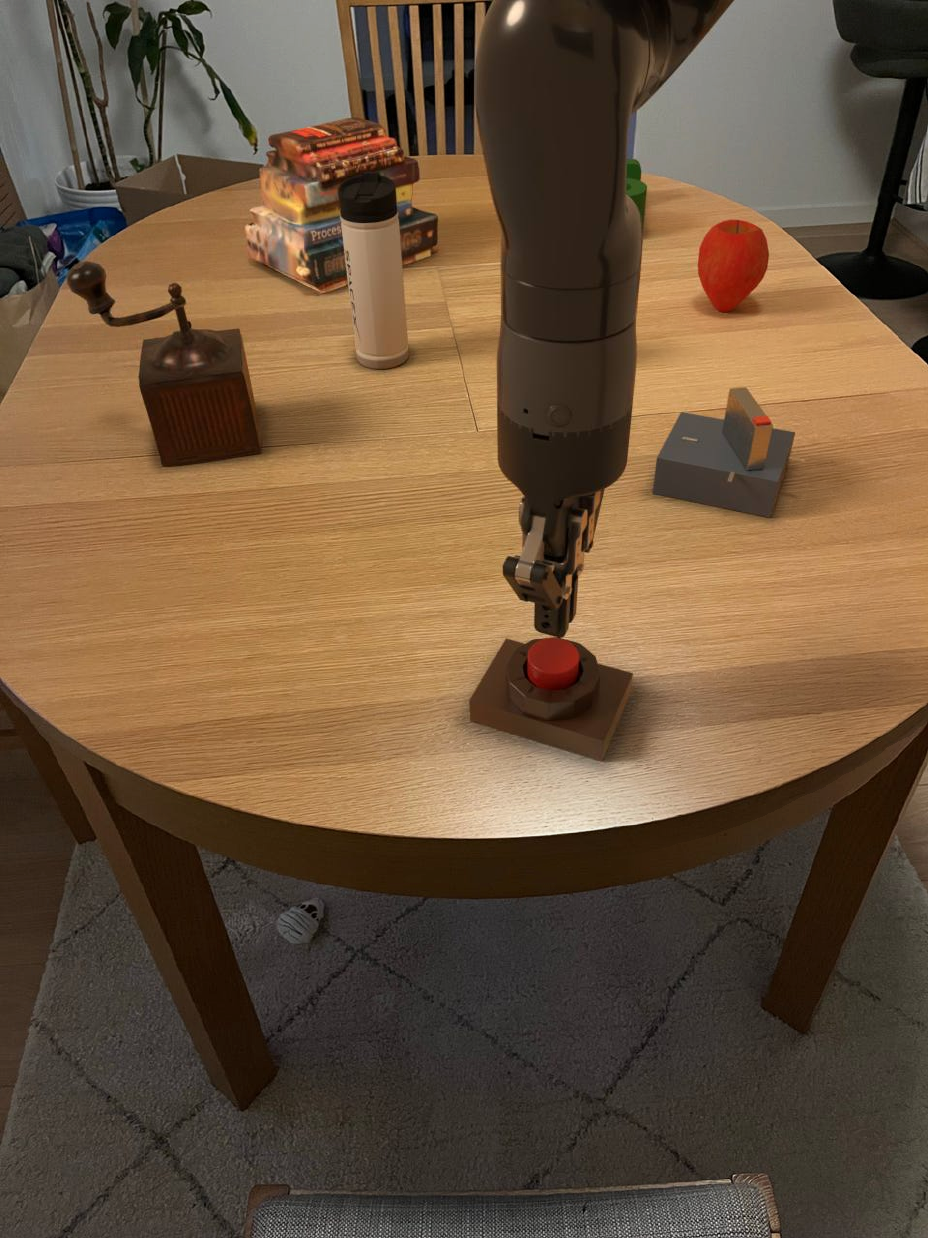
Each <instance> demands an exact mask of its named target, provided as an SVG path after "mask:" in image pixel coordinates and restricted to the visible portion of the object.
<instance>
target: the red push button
mask: <svg viewBox="0 0 928 1238" xmlns="http://www.w3.org/2000/svg"><path fill="white" fill-rule="evenodd" d="M546 638H547V639H543V640H540V641H538V642H536V643H535V644H533V645H532V646H531V648H530V649H529V651H528V662H527V674H528V677H529V679H530V680H531V682H532V683H533V684H534V685H536V686H537V687H539V688H543V689H546V690H550V691H553V690H562V689H566V688H568V687H570V686H571V685H572V684H574V682H575V681H576V680H577V677H578V671H579V653H578V650H577V649H576V647H575V646H574V645H573V644H571V643H570V642H568V641H566V640H567V639H566V640H563V639H564V638H562V639H558V638H552V637H546Z"/></svg>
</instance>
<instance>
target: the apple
mask: <svg viewBox="0 0 928 1238" xmlns="http://www.w3.org/2000/svg"><path fill="white" fill-rule="evenodd" d="M769 257H770V251H769V246H768V239H767V237H766V235H765V233H764V231H763V229H762V228H760V227H759V226H758V225H756V224H754V223H752V222H748V221H746V220H741V219H727V220H723V221H721V222H718V223H716V224H715V225H713V226H712V227H710V229H709V230H708V232H706V234H705V235H704V237H703V239H702V242H701V244H700V246H699V249H698V257H697V258H698V259H697V274H698V278H699V281H700V284H701V287H702V290H703V291H704V293H705V296H706V297H707V298H708V300H709V302H710V303H711V306H712V307H713V308H714V309H715V310H717V311H718V312H721V313H728V312H731V311H732V310H734V309H735V308H737V307H738V306H739V305H740V304H741V303H742V302H743V301H745V299H746V298H747V297H748V296H749V295H750V294H751V293H752V292H753V291H754V290H755V289H756V288H757V287H758V286H759V284H761V282H762V281H763V279H764V277H765V275H766V273H767V271H768V266H769Z"/></svg>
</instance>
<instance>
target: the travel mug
mask: <svg viewBox="0 0 928 1238" xmlns="http://www.w3.org/2000/svg"><path fill="white" fill-rule="evenodd" d="M338 197H339V205H340V219H341V227H342V236H343V244H344V253H345V261H346V270H347V279H348V285H347V286H348V287H347V288H348V294H349V295H348V296H349V303H350V312H351V320H352V329H353V337H354V338H353V339H354V346H355V355H356V360H357V362H358V363H359V364H360V365H361V366H364V367H366V368H369V369H373V370H385V369H386V370H387V369H392V368H395V367H399V366H401V365H402V364H404V363H405V362H406V361H407V360H408V359H409V357H410V352H409V351H410V350H409V349H410V348H409V335H408V324H407V309H406V297H405V286H404V285H405V284H404V271H403V266H402V256H401V243H400V230H399V219H398V210H397V205H396V203H397V197H396V185H395V182H394V181H393V180H392V179H390V178H388V177H386V176H382V175H380V173H379V172H363V175H361V176H356V177H352V178H350V179H347V180H345V181H344V182H342V183H341V184H340V186H339V187H338Z"/></svg>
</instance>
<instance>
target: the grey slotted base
mask: <svg viewBox="0 0 928 1238" xmlns="http://www.w3.org/2000/svg"><path fill="white" fill-rule="evenodd" d="M723 424H724V418H718V417H711V416H706V415H700V414H697V413H696V414H694V413H689V412H685V411H681V412H680V413H679V415H678V417H677V419H676V421H675V422H674V424H673V426H672V429H671V430H670V432H669V434H668V436H667V438H666V440H665V441H664V443H663V445H662V446H661V449H660V451H659V453H658V454H657V457H656V462H655V472H654V479H653V486H652V494H655V495H659V496H663V497H668V498H673V499H676V500H677V499H678V500H682V501H687V502H692V503H697V504H702V505H707V506H712V507H717V508H721V509H725V510H731V511H736V512H740V513H746V514H750V515H756V516H760V517H765V518H770V519H771V517H772V515H773V512H774V509H775V505H776V503H777V500H778V496H779V494H780V490H781V487H782V485H783V482H784V479H785V477H786V473H787V470H788V466H789V462H790V461H793V462H797V463H804V464H805V462H806V459H805V458H800V457H795V456H791V454H792V449H793V445H794V441H795V435H796V432H795V431H792V430H791V431H790V430H785V429H779V428H774V427H773V428H772V433H771V438H770V442H769V447H768V452H767V456H766V461H765V466H764V469H758V470H746V468H745V467H744V465H743V463H742V462H741V460H740V459H739V457H738V455H737V454H736V452H735V451H734V449H733V447H732V446H731V444H730V443H729V441H728V439H727V438H726V436H725V435H724V433H723V431H722V430H723Z"/></svg>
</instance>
